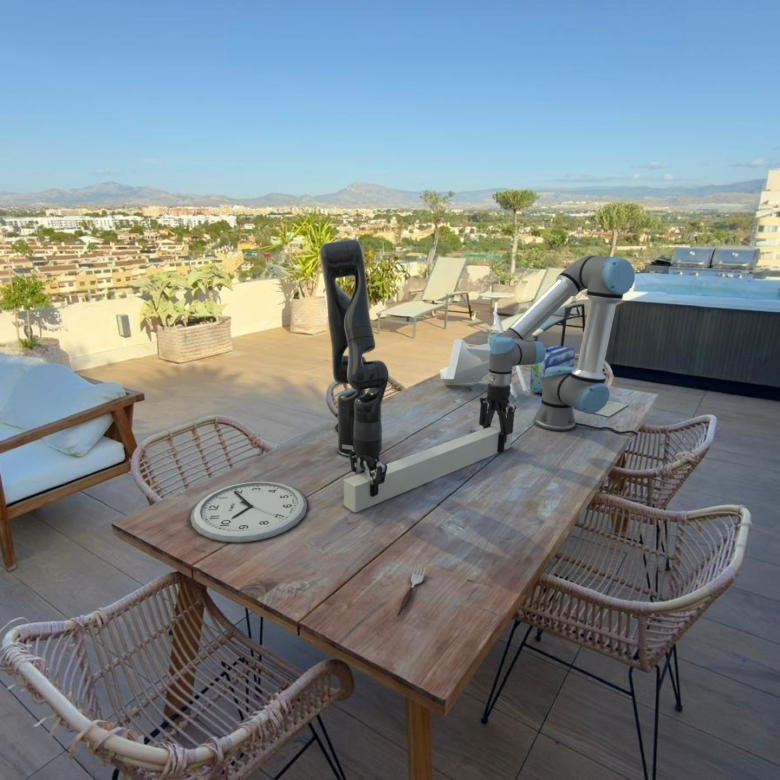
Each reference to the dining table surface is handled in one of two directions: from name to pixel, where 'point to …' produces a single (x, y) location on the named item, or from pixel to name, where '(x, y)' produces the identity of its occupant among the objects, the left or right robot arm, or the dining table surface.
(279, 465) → the dining table surface
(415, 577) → the fork
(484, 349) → the white plastic object
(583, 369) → the right robot arm
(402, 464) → the bar
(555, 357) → the lunch box
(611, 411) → the invitation card
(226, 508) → the wall clock
